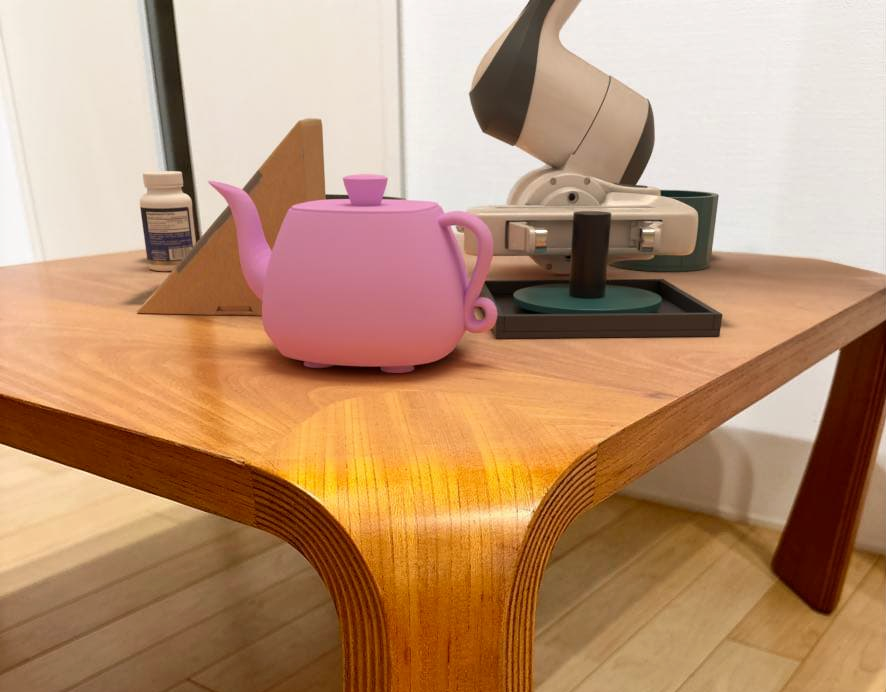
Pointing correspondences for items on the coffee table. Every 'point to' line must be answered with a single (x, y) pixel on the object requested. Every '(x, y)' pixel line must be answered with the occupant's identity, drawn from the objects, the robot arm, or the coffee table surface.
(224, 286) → the sandwich container
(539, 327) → the lid tray
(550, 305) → the tin lid
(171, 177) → the pill bottle
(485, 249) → the teapot
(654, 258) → the dark green cylinder
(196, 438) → the coffee table surface
